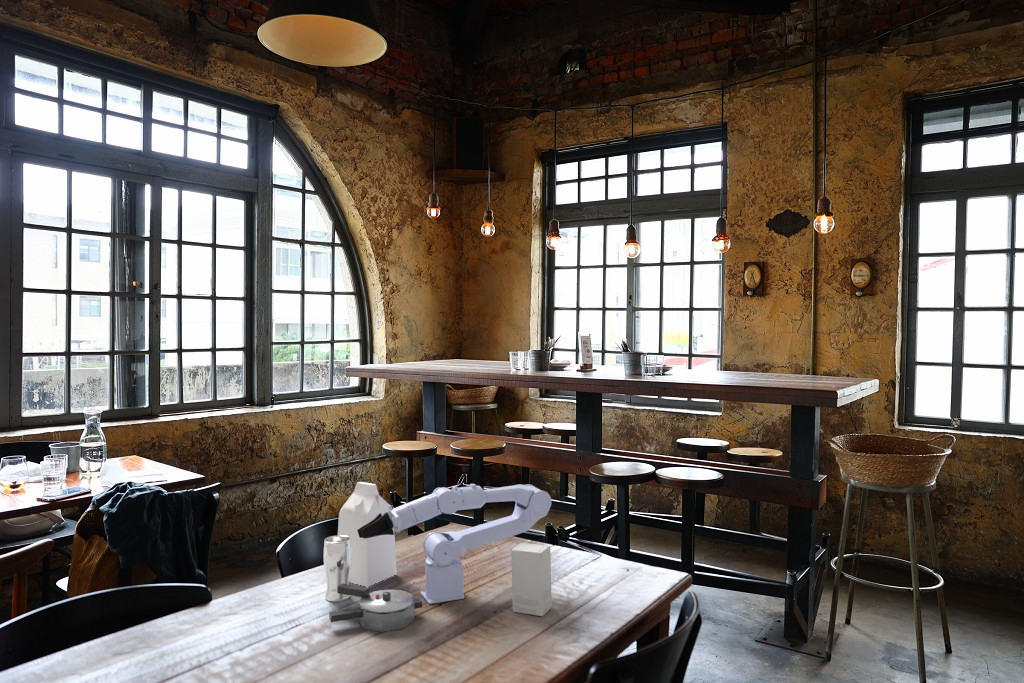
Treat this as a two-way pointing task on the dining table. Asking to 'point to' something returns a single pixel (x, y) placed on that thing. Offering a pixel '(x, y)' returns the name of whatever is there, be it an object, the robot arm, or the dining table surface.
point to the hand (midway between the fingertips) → (360, 534)
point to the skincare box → (531, 579)
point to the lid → (378, 598)
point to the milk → (369, 554)
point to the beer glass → (337, 565)
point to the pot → (378, 617)
